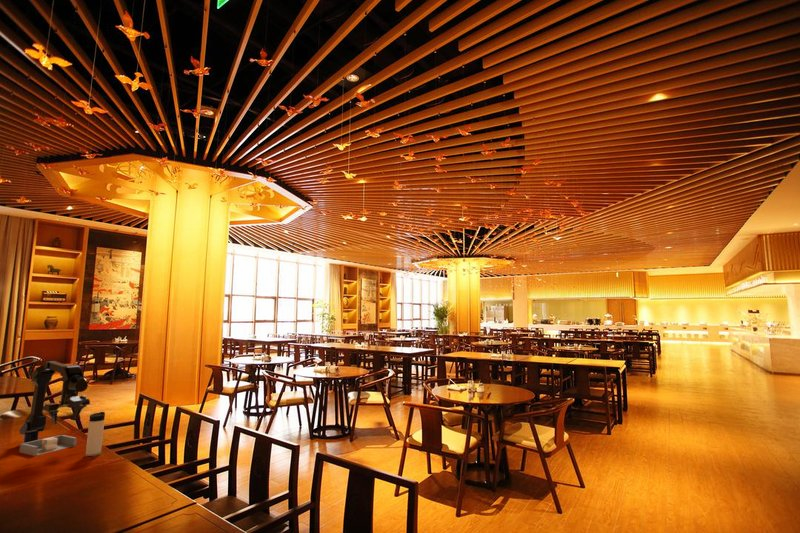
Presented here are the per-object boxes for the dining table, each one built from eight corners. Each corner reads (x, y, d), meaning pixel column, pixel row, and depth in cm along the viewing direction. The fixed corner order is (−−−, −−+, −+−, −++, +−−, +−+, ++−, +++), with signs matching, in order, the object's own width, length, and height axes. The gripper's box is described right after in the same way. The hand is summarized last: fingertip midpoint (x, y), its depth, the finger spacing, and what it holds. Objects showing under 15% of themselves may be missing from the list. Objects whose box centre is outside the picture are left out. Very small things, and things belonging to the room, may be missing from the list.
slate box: (19, 453, 206) (20, 443, 207) (61, 443, 223) (62, 434, 224) (34, 456, 201) (35, 447, 202) (75, 446, 218) (76, 437, 219)
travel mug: (104, 453, 208) (108, 412, 211) (93, 457, 202) (98, 414, 205) (93, 452, 209) (97, 411, 212) (82, 456, 203) (86, 414, 205)
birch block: (41, 449, 211) (42, 439, 211) (51, 447, 215) (52, 437, 216) (46, 450, 209) (47, 440, 210) (56, 448, 213) (57, 438, 214)
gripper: (57, 394, 201) (53, 427, 199) (98, 389, 218) (94, 419, 216) (44, 392, 206) (40, 425, 204) (84, 387, 223) (81, 417, 221)
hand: (65, 421), depth 211 cm, fingers open, 9 cm apart
